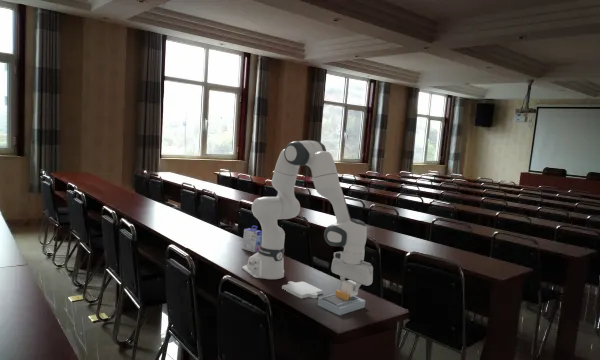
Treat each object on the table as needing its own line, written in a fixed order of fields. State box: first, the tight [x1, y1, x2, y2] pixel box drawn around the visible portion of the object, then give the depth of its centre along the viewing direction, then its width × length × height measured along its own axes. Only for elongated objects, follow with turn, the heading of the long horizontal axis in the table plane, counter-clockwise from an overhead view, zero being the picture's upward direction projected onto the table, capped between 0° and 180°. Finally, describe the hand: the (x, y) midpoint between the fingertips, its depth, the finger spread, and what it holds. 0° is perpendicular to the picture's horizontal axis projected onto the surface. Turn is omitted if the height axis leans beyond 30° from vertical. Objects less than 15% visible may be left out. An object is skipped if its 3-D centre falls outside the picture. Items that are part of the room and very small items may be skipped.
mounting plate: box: [281, 280, 323, 299], centre depth 196 cm, size 18×13×2 cm
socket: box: [317, 293, 366, 316], centre depth 183 cm, size 12×16×4 cm
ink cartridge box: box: [241, 225, 262, 253], centre depth 254 cm, size 10×6×14 cm, turn 58°
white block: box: [340, 279, 359, 299], centre depth 185 cm, size 5×5×6 cm
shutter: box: [324, 289, 349, 305], centre depth 180 cm, size 7×8×3 cm
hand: (349, 289), depth 185 cm, fingers closed on white block, 5 cm apart
